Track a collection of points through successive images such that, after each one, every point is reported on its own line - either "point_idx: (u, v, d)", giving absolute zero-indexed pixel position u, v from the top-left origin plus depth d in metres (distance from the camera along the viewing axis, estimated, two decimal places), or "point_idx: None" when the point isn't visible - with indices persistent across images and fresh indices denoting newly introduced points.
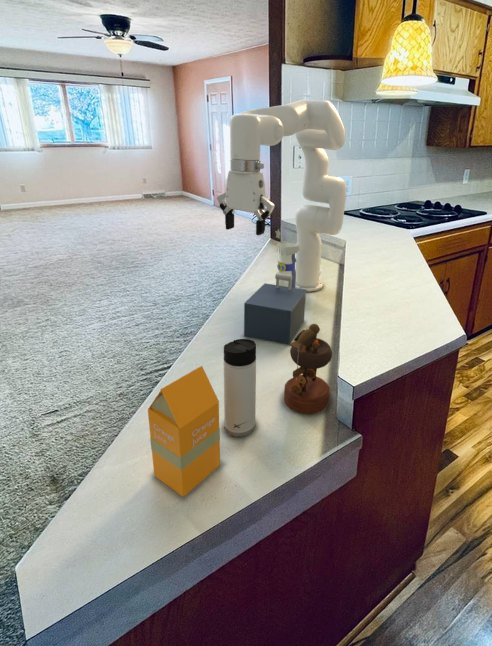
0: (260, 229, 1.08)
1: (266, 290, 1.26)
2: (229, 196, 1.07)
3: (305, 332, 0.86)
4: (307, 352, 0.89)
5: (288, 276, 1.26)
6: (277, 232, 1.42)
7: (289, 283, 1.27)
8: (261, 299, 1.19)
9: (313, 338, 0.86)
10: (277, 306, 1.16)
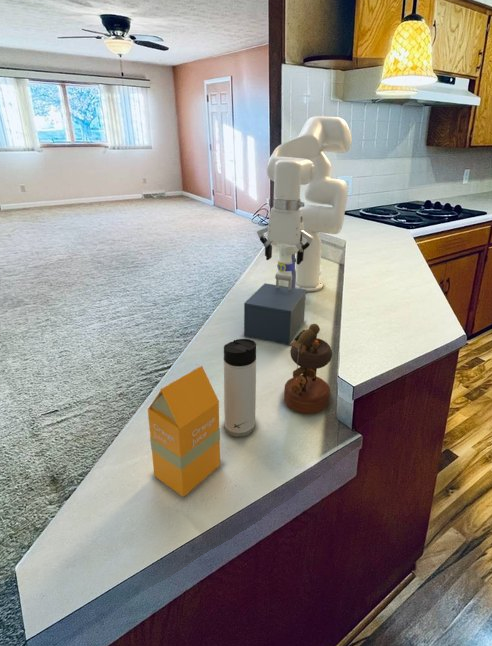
0: (300, 259, 1.22)
1: (266, 290, 1.26)
2: (271, 231, 1.20)
3: (305, 332, 0.86)
4: (307, 352, 0.89)
5: (288, 276, 1.26)
6: None
7: (289, 283, 1.27)
8: (261, 299, 1.19)
9: (313, 338, 0.86)
10: (277, 306, 1.16)
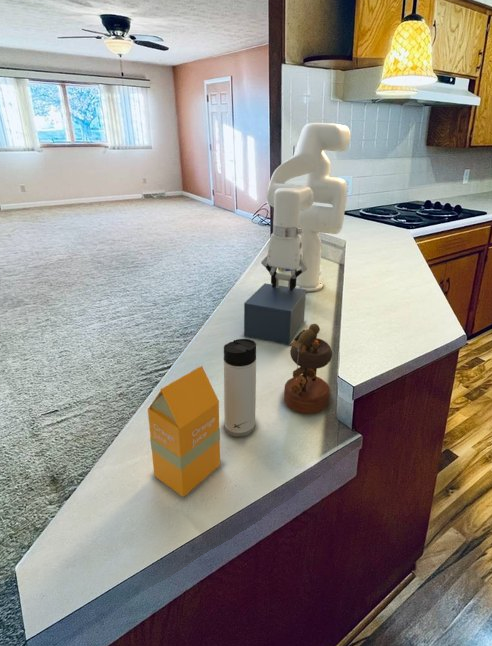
0: (293, 285, 1.26)
1: (266, 290, 1.26)
2: (271, 256, 1.23)
3: (305, 332, 0.86)
4: (307, 352, 0.89)
5: (288, 276, 1.26)
6: None
7: (289, 283, 1.27)
8: (261, 299, 1.19)
9: (313, 338, 0.86)
10: (277, 306, 1.16)
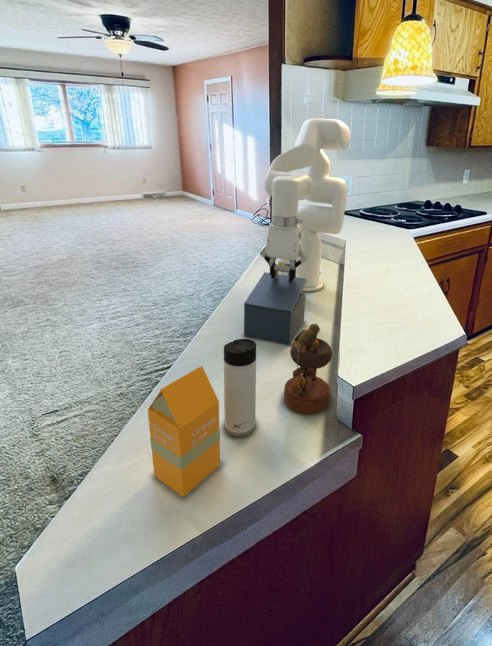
0: (292, 276, 1.24)
1: (266, 283, 1.25)
2: (270, 247, 1.20)
3: (305, 332, 0.86)
4: (307, 352, 0.89)
5: (287, 268, 1.23)
6: None
7: None
8: (261, 297, 1.19)
9: (313, 338, 0.86)
10: (276, 304, 1.16)
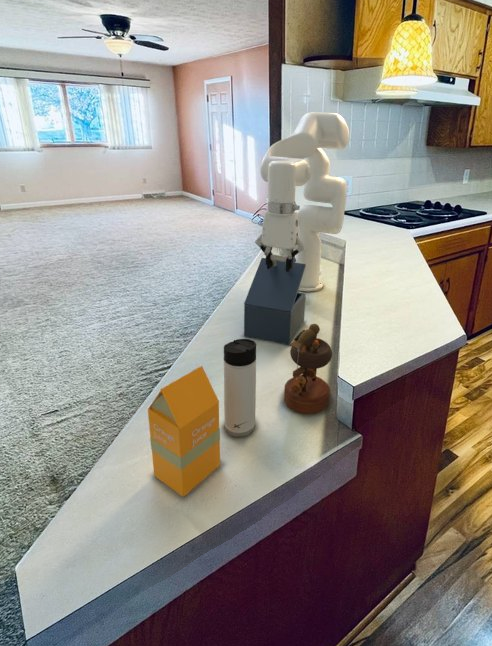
0: (289, 266, 1.18)
1: (264, 273, 1.22)
2: (266, 235, 1.15)
3: (305, 332, 0.86)
4: (307, 352, 0.89)
5: (284, 259, 1.18)
6: None
7: None
8: (260, 294, 1.18)
9: (313, 338, 0.86)
10: (276, 303, 1.15)
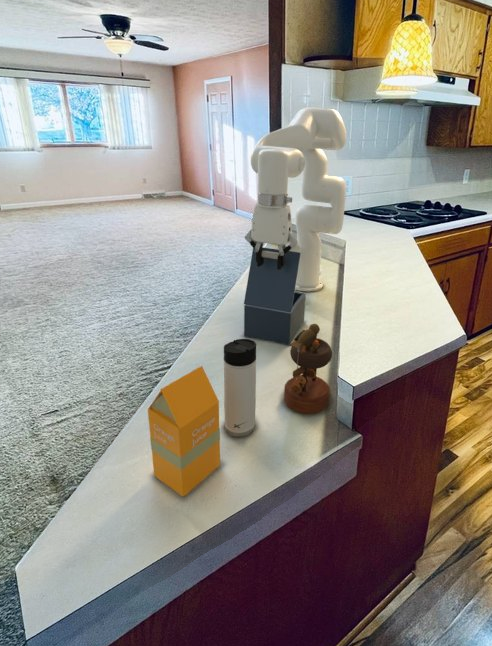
0: (281, 263, 1.10)
1: None
2: (256, 229, 1.07)
3: (305, 332, 0.86)
4: (307, 352, 0.89)
5: (275, 257, 1.10)
6: None
7: None
8: (258, 292, 1.16)
9: (313, 338, 0.86)
10: (275, 303, 1.14)
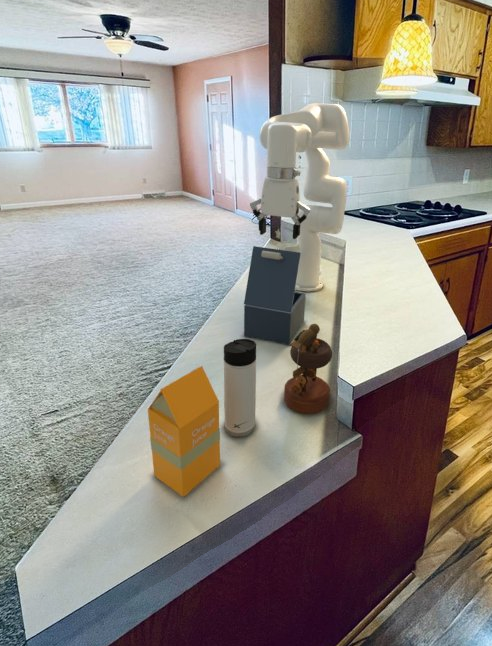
0: (296, 233, 1.13)
1: (258, 266, 1.16)
2: (265, 203, 1.11)
3: (305, 332, 0.86)
4: (307, 352, 0.89)
5: (275, 257, 1.10)
6: (277, 232, 1.42)
7: (279, 258, 1.12)
8: (258, 292, 1.16)
9: (313, 338, 0.86)
10: (275, 303, 1.14)
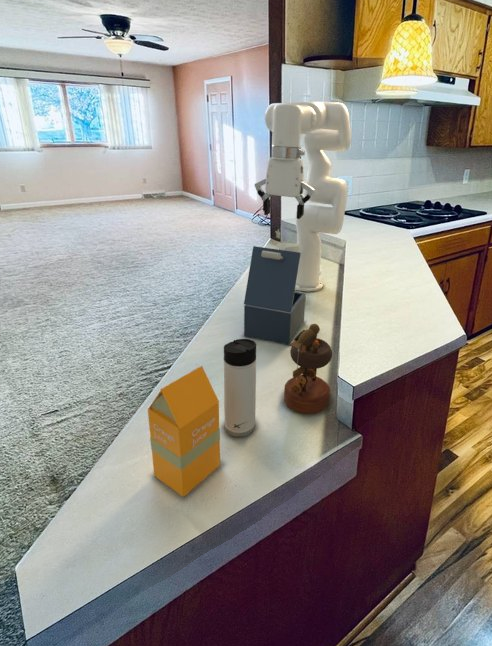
0: (300, 213, 1.15)
1: (258, 266, 1.16)
2: (270, 182, 1.13)
3: (305, 332, 0.86)
4: (307, 352, 0.89)
5: (275, 257, 1.10)
6: (277, 232, 1.42)
7: (279, 258, 1.12)
8: (258, 292, 1.16)
9: (313, 338, 0.86)
10: (275, 303, 1.14)
